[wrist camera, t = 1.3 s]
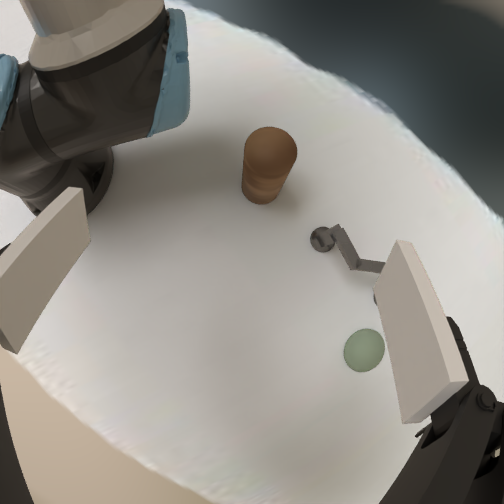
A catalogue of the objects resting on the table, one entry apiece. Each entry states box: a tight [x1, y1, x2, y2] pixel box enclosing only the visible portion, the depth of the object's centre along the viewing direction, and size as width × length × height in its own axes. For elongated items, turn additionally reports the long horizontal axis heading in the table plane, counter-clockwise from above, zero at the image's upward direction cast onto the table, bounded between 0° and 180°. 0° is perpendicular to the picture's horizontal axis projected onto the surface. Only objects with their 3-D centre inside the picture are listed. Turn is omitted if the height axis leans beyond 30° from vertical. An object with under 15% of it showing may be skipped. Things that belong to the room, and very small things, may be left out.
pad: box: [344, 329, 385, 372], centre depth 40 cm, size 6×6×1 cm
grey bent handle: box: [310, 224, 385, 305], centre depth 37 cm, size 15×4×7 cm, turn 53°
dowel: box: [242, 127, 297, 204], centre depth 35 cm, size 5×5×12 cm
